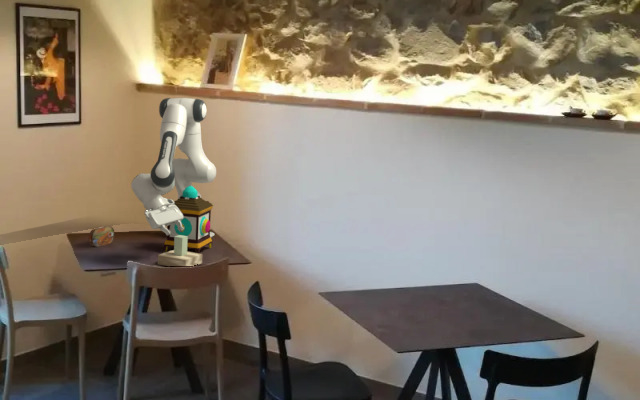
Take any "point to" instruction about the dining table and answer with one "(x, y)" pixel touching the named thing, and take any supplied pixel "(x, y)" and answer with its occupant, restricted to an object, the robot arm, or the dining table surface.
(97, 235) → the tin
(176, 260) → the plinth
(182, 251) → the green block
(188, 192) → the decorative lantern
